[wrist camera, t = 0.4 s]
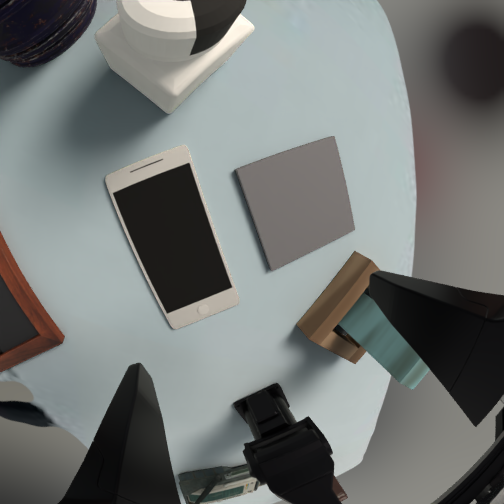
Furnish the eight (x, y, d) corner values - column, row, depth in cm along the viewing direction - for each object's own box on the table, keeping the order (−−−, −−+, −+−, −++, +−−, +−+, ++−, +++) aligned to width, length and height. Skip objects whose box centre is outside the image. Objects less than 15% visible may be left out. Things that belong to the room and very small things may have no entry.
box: (324, 459, 50) (347, 495, 39) (326, 464, 52) (348, 497, 41) (301, 471, 49) (323, 508, 38) (304, 475, 51) (325, 510, 40)
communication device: (290, 466, 47) (307, 495, 39) (182, 489, 39) (192, 524, 31) (301, 441, 43) (323, 475, 35) (174, 468, 35) (185, 510, 27)
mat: (351, 228, 29) (355, 229, 28) (269, 268, 27) (272, 271, 26) (330, 136, 24) (334, 136, 24) (234, 169, 23) (236, 169, 22)
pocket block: (391, 291, 35) (405, 301, 32) (343, 351, 35) (355, 364, 33) (354, 251, 30) (371, 260, 27) (296, 324, 31) (308, 339, 28)
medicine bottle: (171, 12, 16) (191, -76, 5) (229, 59, 19) (293, -7, 8) (108, 67, 16) (71, -3, 6) (169, 116, 20) (181, 75, 9)
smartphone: (172, 325, 26) (173, 331, 25) (105, 175, 20) (102, 176, 19) (238, 299, 28) (241, 303, 27) (185, 143, 21) (187, 143, 20)
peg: (368, 300, 33) (440, 355, 22) (346, 327, 34) (412, 389, 22) (351, 284, 31) (431, 343, 20) (328, 314, 32) (399, 382, 20)
